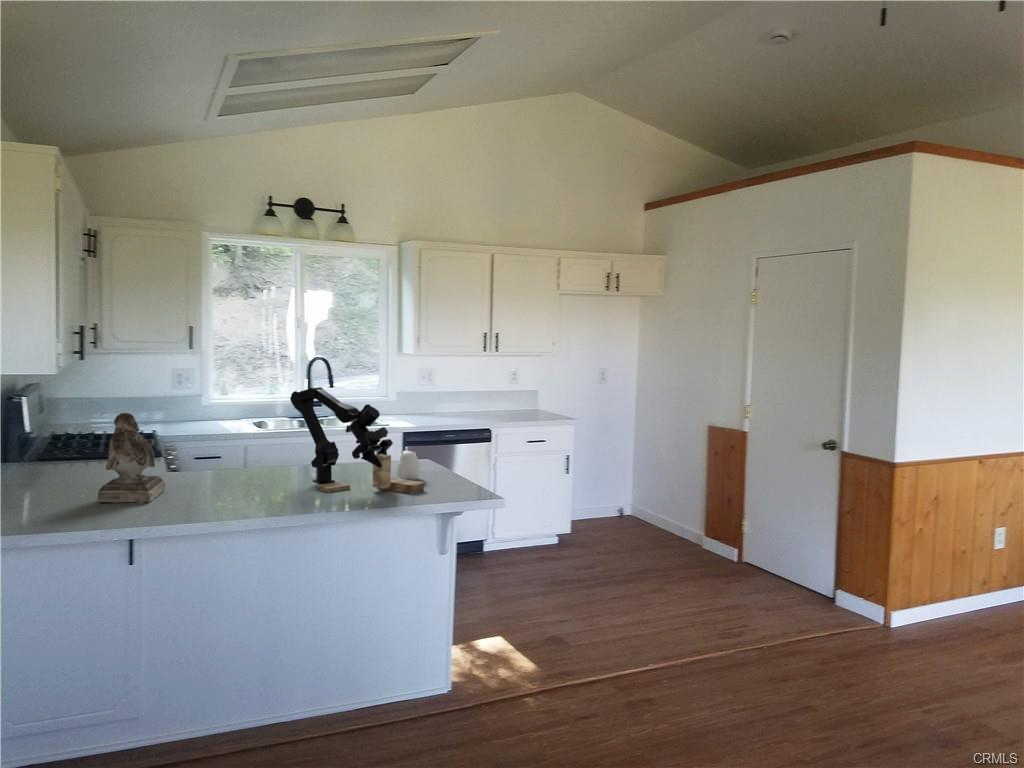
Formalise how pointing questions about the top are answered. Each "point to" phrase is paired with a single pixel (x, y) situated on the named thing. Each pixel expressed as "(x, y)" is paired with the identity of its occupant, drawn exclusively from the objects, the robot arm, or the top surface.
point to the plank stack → (405, 485)
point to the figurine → (408, 466)
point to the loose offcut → (333, 486)
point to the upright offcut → (382, 472)
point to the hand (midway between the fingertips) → (384, 465)
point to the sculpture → (130, 465)
